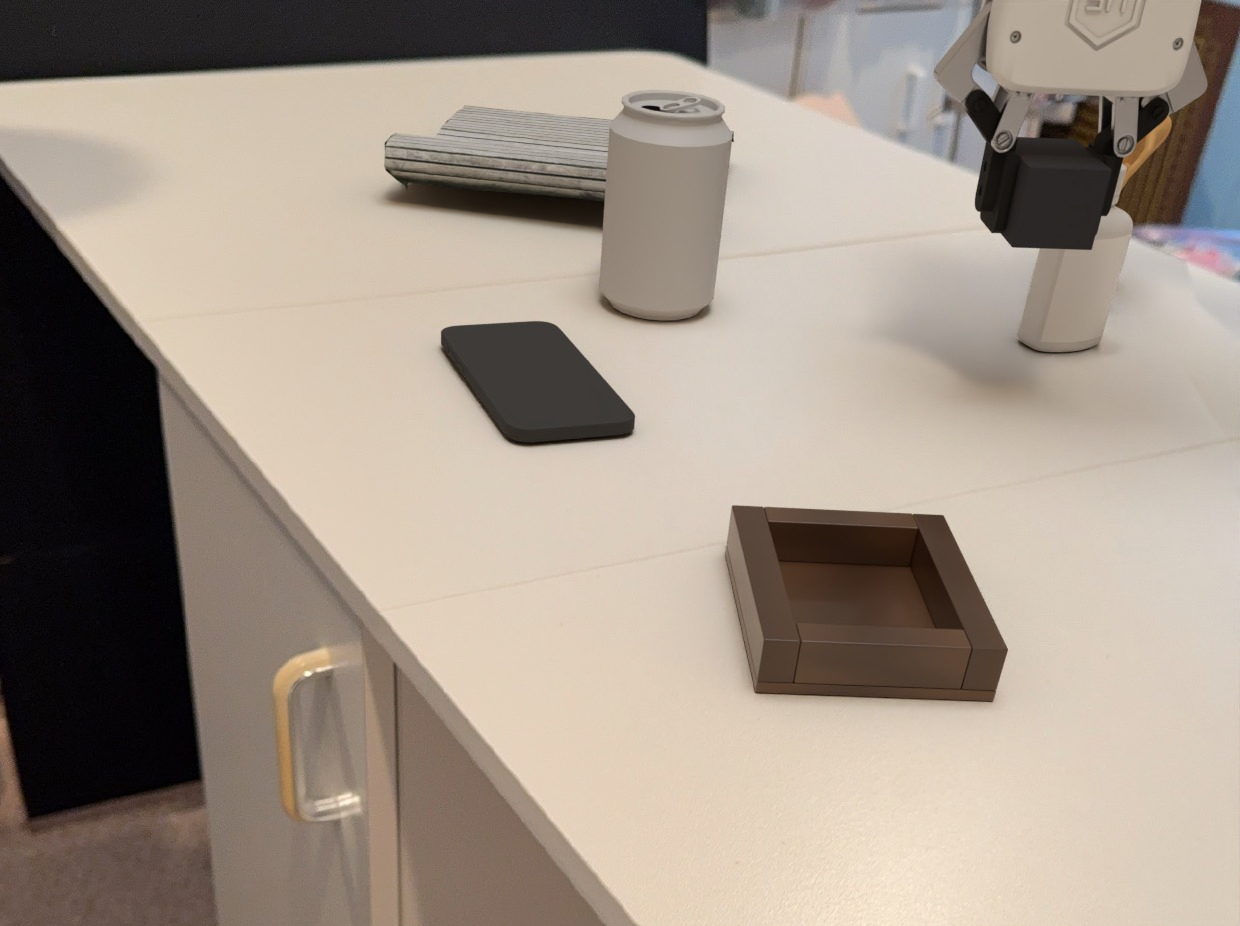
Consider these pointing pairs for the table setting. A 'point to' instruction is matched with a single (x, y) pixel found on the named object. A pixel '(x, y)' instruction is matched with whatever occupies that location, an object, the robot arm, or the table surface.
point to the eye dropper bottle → (1076, 287)
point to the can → (664, 204)
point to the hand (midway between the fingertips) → (1037, 224)
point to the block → (1056, 195)
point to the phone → (536, 382)
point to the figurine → (1146, 148)
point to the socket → (860, 605)
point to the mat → (507, 154)
